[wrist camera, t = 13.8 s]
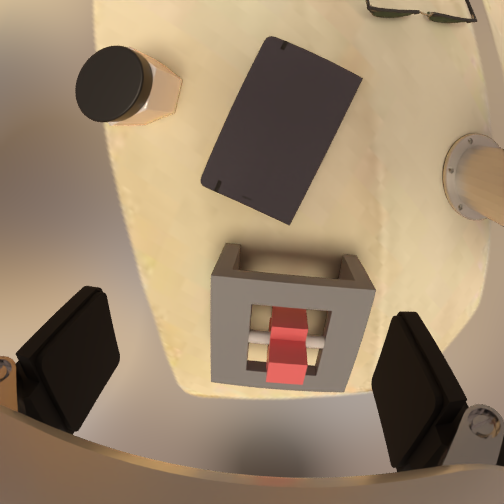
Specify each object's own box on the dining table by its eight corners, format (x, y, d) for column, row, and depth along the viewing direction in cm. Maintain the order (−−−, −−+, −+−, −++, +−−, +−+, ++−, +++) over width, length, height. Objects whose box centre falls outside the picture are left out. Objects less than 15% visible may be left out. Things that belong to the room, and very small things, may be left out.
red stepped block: (303, 288, 42) (310, 353, 30) (296, 327, 45) (300, 394, 32) (273, 286, 42) (270, 349, 30) (269, 324, 45) (264, 392, 33)
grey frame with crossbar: (356, 255, 42) (376, 290, 33) (335, 348, 48) (343, 392, 39) (225, 243, 43) (211, 275, 34) (222, 338, 49) (211, 381, 39)
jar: (132, 59, 34) (85, 42, 23) (187, 64, 34) (153, 42, 23) (118, 121, 38) (67, 122, 26) (172, 129, 38) (132, 131, 27)
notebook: (289, 222, 42) (359, 80, 34) (289, 225, 40) (362, 78, 32) (201, 182, 41) (268, 37, 33) (198, 184, 39) (268, 34, 31)
